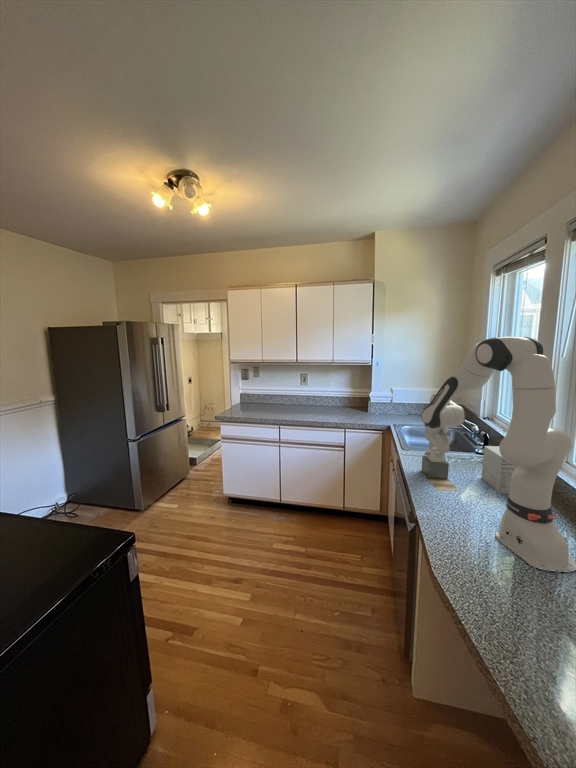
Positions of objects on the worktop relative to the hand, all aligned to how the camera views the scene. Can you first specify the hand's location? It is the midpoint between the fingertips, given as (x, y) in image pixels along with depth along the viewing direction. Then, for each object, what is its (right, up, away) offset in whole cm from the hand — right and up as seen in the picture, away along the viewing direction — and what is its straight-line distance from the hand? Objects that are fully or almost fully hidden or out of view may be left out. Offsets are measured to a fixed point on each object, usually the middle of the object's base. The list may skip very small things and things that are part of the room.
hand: (435, 454), depth 151 cm
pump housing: (0, -3, 0) cm, 3 cm away
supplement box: (+28, -14, -7) cm, 32 cm away
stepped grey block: (0, -10, +2) cm, 11 cm away
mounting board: (0, -13, -3) cm, 13 cm away
